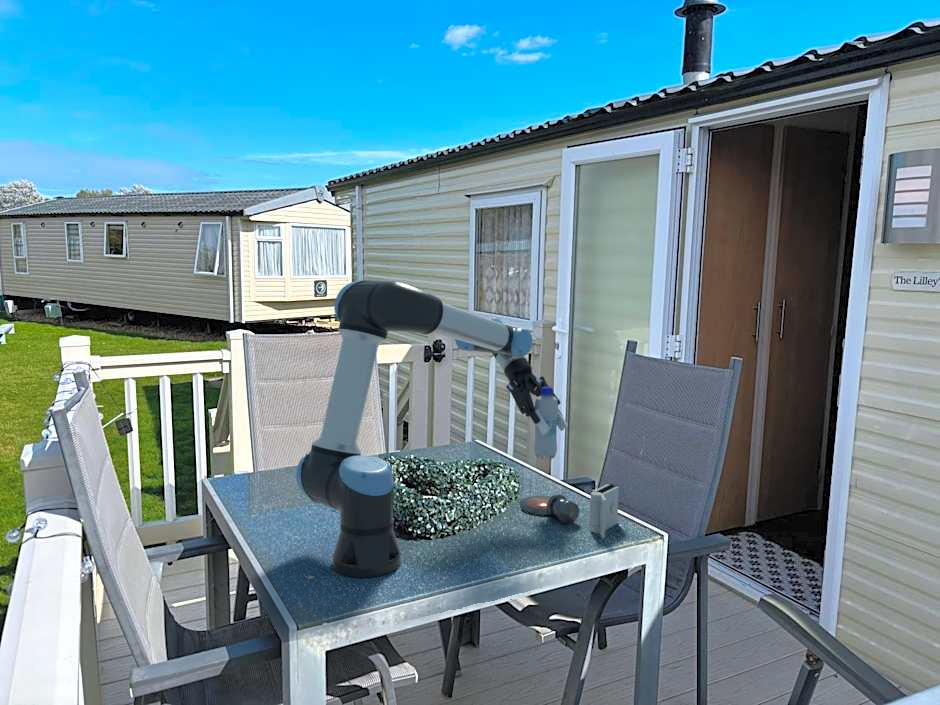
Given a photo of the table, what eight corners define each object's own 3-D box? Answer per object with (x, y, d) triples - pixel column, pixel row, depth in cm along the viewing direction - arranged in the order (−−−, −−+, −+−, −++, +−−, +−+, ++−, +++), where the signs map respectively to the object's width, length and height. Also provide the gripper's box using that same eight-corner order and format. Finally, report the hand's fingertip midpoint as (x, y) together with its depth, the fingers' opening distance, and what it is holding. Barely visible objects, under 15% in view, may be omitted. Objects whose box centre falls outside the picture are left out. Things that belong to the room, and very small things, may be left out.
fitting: (591, 520, 180) (592, 499, 180) (545, 527, 175) (545, 504, 174) (554, 497, 199) (555, 477, 199) (511, 502, 194) (511, 481, 194)
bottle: (552, 453, 193) (554, 384, 190) (560, 460, 186) (562, 388, 184) (530, 454, 191) (531, 384, 189) (537, 461, 185) (538, 388, 182)
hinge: (604, 539, 168) (605, 500, 166) (583, 536, 170) (584, 497, 169) (619, 521, 180) (620, 485, 179) (599, 518, 182) (600, 482, 181)
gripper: (531, 369, 204) (571, 432, 194) (482, 375, 191) (523, 443, 181) (544, 353, 199) (586, 417, 189) (495, 359, 186) (538, 427, 176)
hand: (555, 429), depth 185 cm, fingers closed on bottle, 7 cm apart
